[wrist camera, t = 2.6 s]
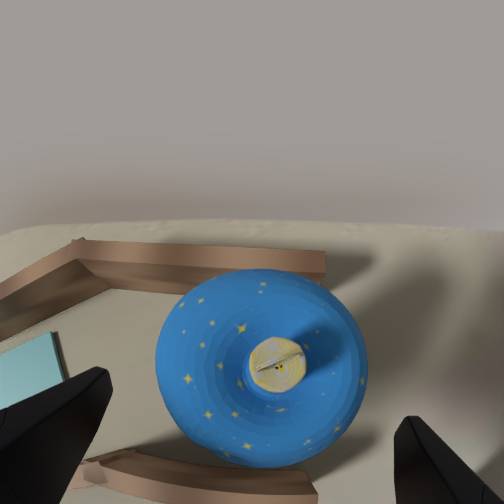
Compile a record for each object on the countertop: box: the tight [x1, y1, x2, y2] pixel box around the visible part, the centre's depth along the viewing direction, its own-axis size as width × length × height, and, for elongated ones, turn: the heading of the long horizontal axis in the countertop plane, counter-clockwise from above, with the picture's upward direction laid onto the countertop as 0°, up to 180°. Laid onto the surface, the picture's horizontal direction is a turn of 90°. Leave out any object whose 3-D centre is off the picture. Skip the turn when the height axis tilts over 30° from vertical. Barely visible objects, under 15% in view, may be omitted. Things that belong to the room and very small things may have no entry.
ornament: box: [156, 269, 368, 468], centre depth 11 cm, size 5×5×15 cm
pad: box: [0, 332, 65, 410], centre depth 16 cm, size 8×8×1 cm
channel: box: [0, 237, 326, 504], centre depth 15 cm, size 25×26×5 cm
